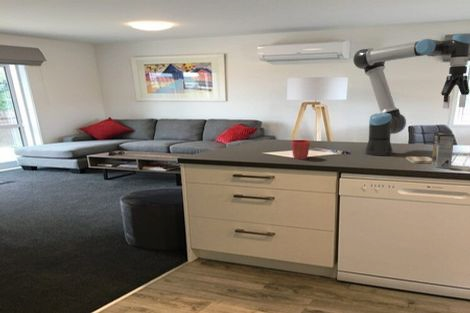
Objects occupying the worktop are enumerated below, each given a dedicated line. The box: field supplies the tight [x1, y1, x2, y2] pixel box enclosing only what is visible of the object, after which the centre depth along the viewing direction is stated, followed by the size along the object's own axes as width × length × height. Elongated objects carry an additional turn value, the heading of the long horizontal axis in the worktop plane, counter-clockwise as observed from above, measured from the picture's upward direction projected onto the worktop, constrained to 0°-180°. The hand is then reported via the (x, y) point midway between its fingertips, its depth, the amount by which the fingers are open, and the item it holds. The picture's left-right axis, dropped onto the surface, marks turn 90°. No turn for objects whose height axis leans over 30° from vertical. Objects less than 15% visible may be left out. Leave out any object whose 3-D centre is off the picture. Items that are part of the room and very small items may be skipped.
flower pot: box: [291, 139, 311, 160], centre depth 193 cm, size 11×11×10 cm
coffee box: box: [431, 131, 455, 169], centre depth 163 cm, size 9×6×16 cm
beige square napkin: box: [405, 156, 432, 164], centre depth 177 cm, size 11×11×1 cm
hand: (453, 107), depth 176 cm, fingers open, 13 cm apart
